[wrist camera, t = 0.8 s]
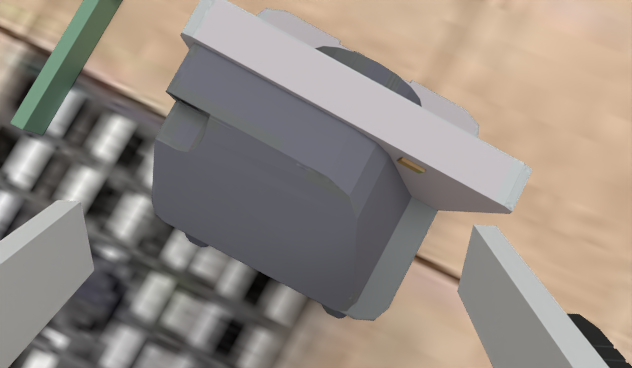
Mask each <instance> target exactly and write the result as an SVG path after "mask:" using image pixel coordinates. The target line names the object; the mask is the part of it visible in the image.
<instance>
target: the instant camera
mask: <svg viewBox="0 0 632 368" xmlns="http://www.w3.org/2000/svg"><path fill="white" fill-rule="evenodd" d="M180 36H181V37H182V39H183V40H184V42H185V43H186V45H187V46H188V48H189V52H188V53H187V55H186V57H185V59H184V60H183V62H182V64H181V66H180V67H179V69H178V71H177V73H176V74H175V76H174V78H173V80H172V81H171V83H170V85H169V87H168V88H167V90H166V92H167V93H168V94H169V95H170V96H171V97H172V98H173V99H174V100H176V102H175V104H174V106H173V107H172V109H171V111H170V113H169V114H168V116H167V118H166V120H165V121H164V123H163V125H162V127H161V128H160V130H159V132H158V134H157V135H156V137H155V147H154V167H153V187H152V204H153V207H154V210H155V213H156V214H157V215H158V216H159V217H160V218H161V219H162V220H163V221H164V222H166V223H168V224H169V225H171V226H173V227H175V228H177V229H179V230H181V231H183V232H185V234H186V237H187V238H188V240H189V241H190V242H192V243H194V244H196V245H198V246H200V247H207V246H209V245H210V246H212V247H214V248H215V249H217V250H219V251H221V252H223V253H225V254H227V255H229V256H231V257H233V258H235V259H237V260H239V261H240V262H242V263H244V264H246V265H248V266H250V267H252V268H254V269H256V270H258V271H260V272H262V273H263V274H265V275H267V276H269V277H271V278H273V279H275V280H277V281H279V282H281V283H283V284H285V285H286V286H288V287H290V288H292V289H294V290H296V291H298V292H300V293H302V294H304V295H306V296H308V297H310V298H311V299H313V300H315V301H317V302H319V303H321V304H322V306H323V308H324V309H325V311H326V312H327V313H328V314H330V315H332V316H334V317H336V318H344V317H345V316H349V317H351V318H353V319H358V320H370V321H374V320H375V319H376V318H377V317H379V316H380V315H381V314H382V313H383V312H385V311H386V310H387V309H388V308H389V306H390V304H391V302H392V300H393V298H394V296H395V294H396V292H397V290H398V288H399V286H400V284H401V282H402V280H403V279H404V277H405V275H406V273H407V271H408V269H409V267H410V265H411V263H412V261H413V259H414V257H415V255H416V253H417V251H418V249H419V247H420V245H421V243H422V241H423V239H424V237H425V235H426V233H427V231H428V229H429V227H430V225H431V223H432V221H433V219H434V217H435V215H436V213H437V211H438V210H443V211H463V212H484V213H504V214H510V213H511V212H512V211H513V209H514V207H515V205H516V203H517V201H518V199H519V197H520V195H521V193H522V191H523V188H524V186H525V184H526V182H527V180H528V178H529V176H530V174H531V172H532V169H531V168H530V167H528V166H527V165H526V164H525V163H523V162H521V161H519V160H517V159H516V158H514V157H512V156H510V155H508V154H506V153H505V152H503V151H501V150H499V149H497V148H496V147H494V146H492V145H490V144H488V143H486V142H485V141H483V140H481V139H479V138H478V131H479V125H478V123H477V122H476V121H475V120H474V119H473V117H472V116H471V115H470V114H469V113H468V112H467V110H466V109H464V108H462V107H460V106H458V105H456V104H455V103H453V102H451V101H449V100H447V99H446V98H444V97H442V96H440V95H438V94H436V93H435V92H433V91H431V90H429V89H427V88H426V87H424V86H422V85H420V84H418V83H416V82H415V81H413V80H412V81H411V82H408V81H406V80H404V79H402V78H401V77H399V76H398V75H397V74H395V73H393V72H392V71H390V70H389V69H387V68H386V67H384V66H383V65H381V64H379V63H378V62H376V61H373V60H371V59H369V58H367V57H365V56H364V55H362V54H361V53H359V52H358V53H357V52H355V51H354V52H353V51H352V50H350V49H348V48H346V47H344V46H343V45H341V44H340V40H338V39H336V38H335V37H333V36H331V35H329V34H327V33H326V32H324V31H322V30H320V29H318V28H316V27H315V26H313V25H311V24H309V23H307V22H306V21H304V20H302V19H300V18H298V17H296V16H295V15H293V14H291V13H289V12H287V11H283V10H276V9H268V8H266V9H264V10H263V11H262V12H260V13H259V14H257V15H256V16H254V15H253V14H251V13H249V12H247V11H245V10H244V9H242V8H240V7H238V6H236V5H234V4H233V3H231V2H229V1H227V0H200V2H199V3H198V5H197V7H196V9H195V10H194V12H193V14H192V15H191V17H190V19H189V21H188V22H187V24H186V26H185V28H184V29H183V31H182V33H181V35H180Z"/></svg>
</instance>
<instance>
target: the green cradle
mask: <svg viewBox="0 0 632 368" xmlns="http://www.w3.org/2000/svg"><path fill="white" fill-rule="evenodd" d="M121 2H122V0H83V2H82V4H81V5H80V7H79V9H78V11H77V12H76V14H75V16H74V17H73V19H72V21H71V22H70V24H69V26H68V27H67V29H66V31H65V32H64V34H63V36H62V37H61V39H60V41H59V42H58V44H57V46H56V47H55V49H54V51H53V52H52V54H51V56H50V57H49V59H48V61H47V62H46V64H45V66H44V67H43V69H42V71H41V72H40V74H39V76H38V77H37V79H36V81H35V82H34V84H33V86H32V88H31V89H30V91H29V93H28V94H27V96H26V98H25V99H24V101H23V103H22V104H21V106H20V108H19V109H18V111H17V113H16V114H15V116H14V118H13V119H12V121H11V124H13V125H15V126H17V127H19V128H21V129H23V130H26V131H30V132H34V133H37V134H41V135H43V134H44V132H45V131H46V129H47V127H48V125H49V124H50V122H51V120H52V119H53V117H54V115H55V114H56V112H57V110H58V108H59V107H60V105H61V103H62V102H63V100H64V98H65V97H66V95H67V93H68V92H69V90H70V88H71V86H72V85H73V83H74V81H75V80H76V78H77V76H78V75H79V73H80V71H81V69H82V68H83V66H84V64H85V63H86V61H87V59H88V58H89V56H90V54H91V52H92V51H93V49H94V47H95V46H96V44H97V42H98V41H99V39H100V37H101V36H102V34H103V32H104V30H105V29H106V27H107V25H108V24H109V22H110V20H111V19H112V17H113V15H114V13H115V12H116V10H117V8H118V7H119V5H120V3H121Z"/></svg>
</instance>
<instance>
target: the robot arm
mask: <svg viewBox="0 0 632 368" xmlns="http://www.w3.org/2000/svg"><path fill="white" fill-rule="evenodd" d="M93 271H94V266H93V261H92V256H91V251H90V246H89V241H88V236H87V231H86V225H85V220H84V215H83V210H82V205H81V201H64V200H57V201H56V202H54V203H53V204H52V205H50V206H49V207H47V208H46V209H45V210H43V211H42V212H40V213H39V214H38V215H36V216H35V217H33V218H32V219H31V220H29V221H28V222H26V223H25V224H23V225H22V226H21V227H19V228H18V229H16V230H15V231H14V232H12V233H11V234H9V235H8V236H7V237H5V238H4V239H2V240H1V241H0V368H8V367H9V366H10V365H11V364H12V362H13V361H14V360H15V359H16V358H17V357H18V356H19V355H20V353H21V352H22V351H23V350H24V349H25V348H26V347H27V346H28V344H29V343H30V342H31V341H32V340H33V339H34V338H35V337H36V335H37V334H38V333H39V332H40V331H41V330H42V329H43V328H44V326H45V325H46V324H47V323H48V322H49V321H50V320H51V318H52V317H53V316H54V315H55V314H56V313H57V312H58V311H59V309H60V308H61V307H62V306H63V305H64V304H65V303H66V302H67V300H68V299H69V298H70V297H71V296H72V295H73V294H74V293H75V291H76V290H77V289H78V288H79V287H80V286H81V285H82V284H83V282H84V281H85V280H86V279H87V278H88V277H89V276H90V275H91V273H92V272H93ZM457 292H458V294H459V296H460V298H461V300H462V302H463V304H464V306H465V308H466V311H467V313H468V315H469V317H470V319H471V321H472V323H473V325H474V328H475V330H476V332H477V334H478V336H479V338H480V340H481V342H482V344H483V347H484V349H485V351H486V353H487V355H488V357H489V359H490V361H491V364H492V366H493V368H632V366H631V365H630V364H629V363H626V361H625V360H626V359H625V358H624V357H623V356H622V355H621V353H620V352H619V351H618V350H617V349H614V347H613V346H614V345H613V344H612V343H611V342H610V341H609V340H608V338H607V337H606V336H605V335H604V334H603V333H602V331H601V330H600V329H599V328H597V327H596V326H595V325H593V324H592V323H591V322H589V321H588V320H586V319H585V318H584V317H582V316H581V315H580V314H566V313H565V311H564V310H563V309H562V308H561V306H560V305H559V304H558V303H557V301H556V300H555V299H554V298H553V296H552V295H551V294H550V293H549V291H548V290H547V289H546V288H545V286H544V285H543V284H542V283H541V281H540V280H539V279H538V278H537V276H536V275H535V274H534V273H533V271H532V270H531V269H530V268H529V266H528V265H527V264H526V263H525V261H524V260H523V259H522V257H521V256H520V255H519V254H518V252H517V251H516V250H515V249H514V247H513V246H512V245H511V244H510V242H509V241H508V240H507V239H506V237H505V236H504V235H503V234H502V232H501V231H500V230H499V229H498V227H497V226H488V225H473V229H472V233H471V237H470V241H469V246H468V250H467V254H466V258H465V262H464V266H463V271H462V275H461V279H460V283H459V287H458V291H457Z"/></svg>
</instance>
